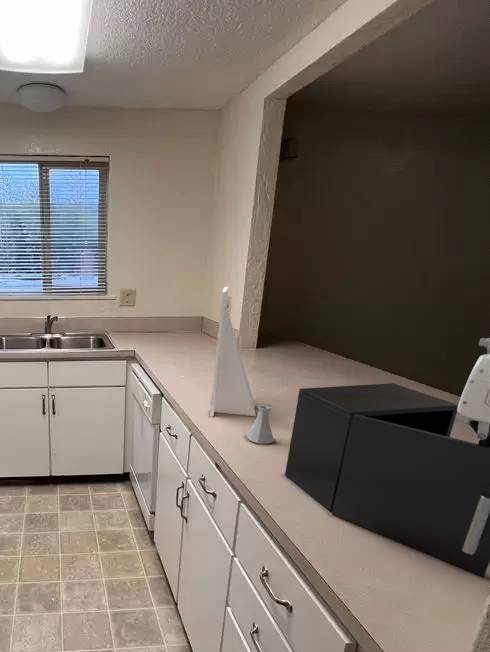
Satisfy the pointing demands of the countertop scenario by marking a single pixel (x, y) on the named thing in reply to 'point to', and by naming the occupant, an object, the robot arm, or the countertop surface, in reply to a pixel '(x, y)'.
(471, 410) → the robot arm
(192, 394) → the countertop surface
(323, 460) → the mini fridge
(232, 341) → the white bracket plate
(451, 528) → the fridge door
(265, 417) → the flask
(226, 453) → the countertop surface
